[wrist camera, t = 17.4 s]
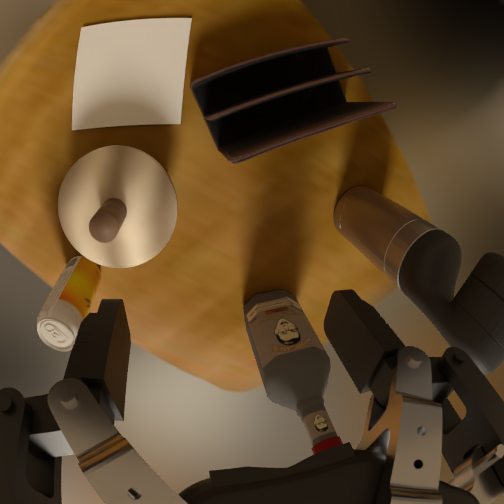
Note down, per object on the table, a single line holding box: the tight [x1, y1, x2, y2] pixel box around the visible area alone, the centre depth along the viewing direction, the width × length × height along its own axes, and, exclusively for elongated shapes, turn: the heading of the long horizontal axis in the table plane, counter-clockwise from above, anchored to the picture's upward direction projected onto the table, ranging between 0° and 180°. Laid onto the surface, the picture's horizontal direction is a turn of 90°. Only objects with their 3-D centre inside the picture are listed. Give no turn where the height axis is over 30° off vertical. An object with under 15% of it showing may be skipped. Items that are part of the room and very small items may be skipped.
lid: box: [58, 145, 177, 268], centre depth 28 cm, size 15×15×6 cm
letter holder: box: [190, 38, 397, 164], centre depth 28 cm, size 10×20×14 cm, turn 111°
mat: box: [72, 18, 192, 131], centre depth 28 cm, size 15×15×1 cm
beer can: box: [37, 256, 101, 351], centre depth 33 cm, size 6×6×15 cm
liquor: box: [244, 289, 343, 454], centre depth 38 cm, size 9×9×30 cm
